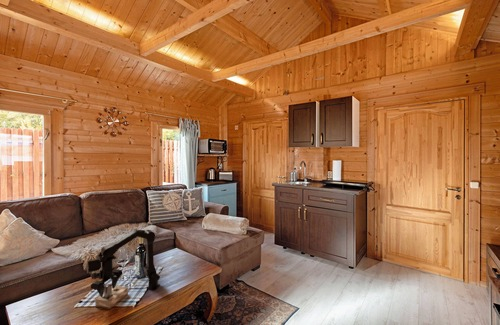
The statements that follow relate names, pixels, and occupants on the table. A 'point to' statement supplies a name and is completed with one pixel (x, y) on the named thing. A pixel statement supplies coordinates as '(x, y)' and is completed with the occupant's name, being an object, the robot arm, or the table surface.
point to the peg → (108, 291)
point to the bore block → (117, 295)
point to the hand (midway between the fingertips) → (107, 292)
